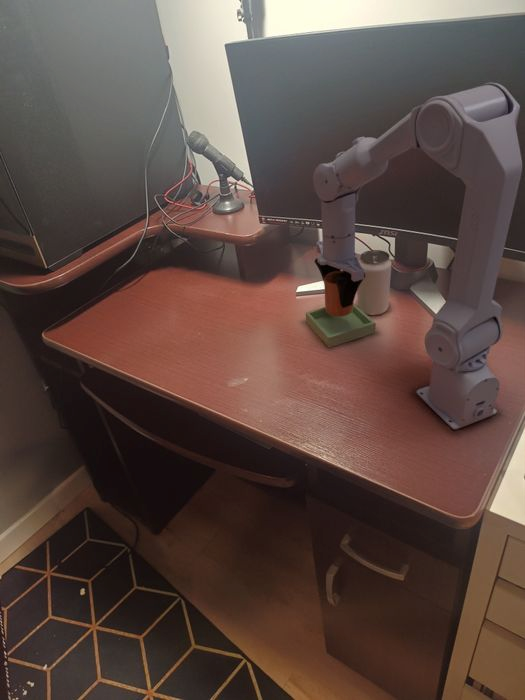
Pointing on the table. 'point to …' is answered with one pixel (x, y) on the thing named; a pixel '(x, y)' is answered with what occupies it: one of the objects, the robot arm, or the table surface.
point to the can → (374, 282)
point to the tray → (340, 326)
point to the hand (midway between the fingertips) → (339, 298)
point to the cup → (334, 297)
